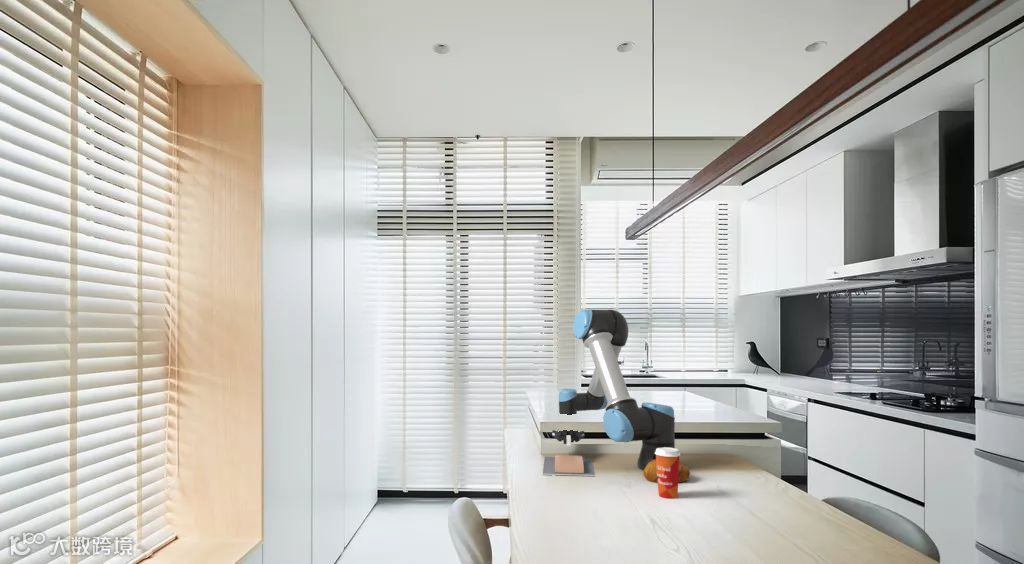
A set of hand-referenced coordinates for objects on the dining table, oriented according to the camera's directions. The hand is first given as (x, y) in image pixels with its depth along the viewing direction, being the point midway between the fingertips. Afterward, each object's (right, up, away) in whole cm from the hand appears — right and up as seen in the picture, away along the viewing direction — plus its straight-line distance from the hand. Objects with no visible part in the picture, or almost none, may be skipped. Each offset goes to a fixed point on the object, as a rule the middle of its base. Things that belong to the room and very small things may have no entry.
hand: (568, 442), depth 217 cm
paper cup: (+27, -7, -36) cm, 46 cm away
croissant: (+32, -9, -16) cm, 36 cm away
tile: (0, -7, +4) cm, 8 cm away
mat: (0, -9, 0) cm, 9 cm away
